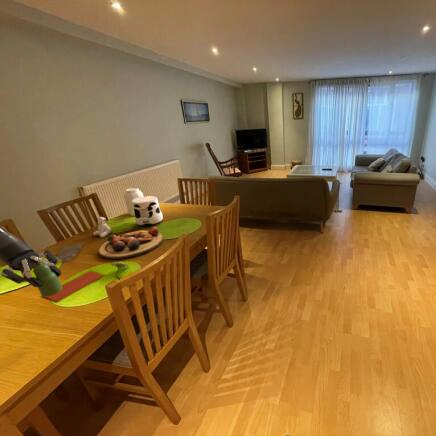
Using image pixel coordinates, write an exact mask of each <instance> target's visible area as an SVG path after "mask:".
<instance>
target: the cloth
mask: <svg viewBox="0 0 436 436" xmlns="http://www.w3.org/2000/svg"><path fill="white" fill-rule="evenodd" d="M104 276H105V275H104V274H101V273H98V272H94V271H92V270H88V271H87V272H85V273H83V274H81V275H79V276H78V277H76V278H73V279H72V280H70V281H68V282H66V283H64V284H61V286H62V290H61V291H60V292H58V293H56V294H54V295H51V296H46V297H44V296H42V297H43V298H46V299H48V300H51V301H54V302H56V303H58V302H59V301H61V300H63V299H65V298H67V297H69V296H70V295H72V294H75V293H76V292H78V291H80V290H81V289H83V288H84V287H87V286H88V285H90V284H92V283H94V282H96V281H97V280H99V279H101V278H102V277H104Z"/></svg>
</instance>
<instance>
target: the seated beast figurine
mask: <svg viewBox="0 0 436 436" xmlns="http://www.w3.org/2000/svg"><path fill="white" fill-rule="evenodd" d="M106 222H107V218H106V217H104V216H98V218H97V225H98V226H97V228H98V230H96V231H94V232H92V233H93V234H92V235H93V236H99V237H100V238H101V239H103V238H105V237H106V236H109V234H110V233H111V232H112V228H111V227H110V226H109V225H108V224H107V223H106Z"/></svg>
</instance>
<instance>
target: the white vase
mask: <svg viewBox="0 0 436 436" xmlns="http://www.w3.org/2000/svg"><path fill="white" fill-rule="evenodd" d="M139 197H144V193H143V192H142V191H141V190H140V189H139V188H138V187H131V188H127V189H126V190H125V193H124V194H123V198H124V202H125V205H126V208H127V212H128V215H129V216H132V217H135V212H134V209H133V205H132V200H134V199H136V198H139Z"/></svg>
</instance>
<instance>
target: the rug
mask: <svg viewBox="0 0 436 436" xmlns="http://www.w3.org/2000/svg"><path fill="white" fill-rule="evenodd" d="M83 245H84V243H81V244H77V243H76V244H73V245H70V246H68V245H67V246H63V247H62V248H61V249H59V251H57V254H56V256H54V257H55V258H56V259H57V260H58V262H59V263H60V262H64V261H71V260H74V257H76V256H77V254H78V253H79V252H80V250H81V248H82V247H83ZM67 250H68V251H67Z"/></svg>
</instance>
